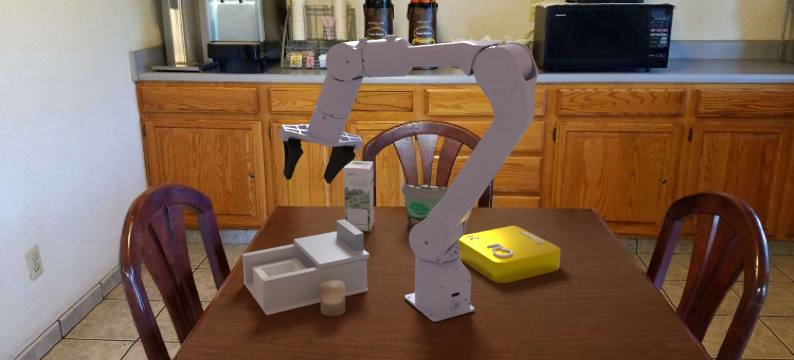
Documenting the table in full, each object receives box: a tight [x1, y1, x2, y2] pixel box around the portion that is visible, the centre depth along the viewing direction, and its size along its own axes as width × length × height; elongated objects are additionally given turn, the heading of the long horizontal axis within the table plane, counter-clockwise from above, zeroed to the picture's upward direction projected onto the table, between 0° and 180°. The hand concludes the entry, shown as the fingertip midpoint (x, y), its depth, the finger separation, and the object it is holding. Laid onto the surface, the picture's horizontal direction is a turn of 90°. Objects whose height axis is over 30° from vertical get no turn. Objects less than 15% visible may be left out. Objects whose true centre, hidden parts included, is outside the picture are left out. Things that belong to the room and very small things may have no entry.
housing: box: [241, 243, 369, 316], centre depth 110 cm, size 13×18×6 cm
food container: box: [400, 179, 450, 230], centre depth 136 cm, size 12×6×10 cm, turn 73°
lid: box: [293, 218, 370, 269], centre depth 111 cm, size 12×9×4 cm
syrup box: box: [343, 160, 375, 233], centre depth 137 cm, size 6×6×14 cm
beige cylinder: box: [319, 280, 346, 317], centre depth 102 cm, size 4×4×4 cm
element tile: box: [458, 225, 562, 284], centre depth 121 cm, size 15×15×5 cm
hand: (307, 178), depth 110 cm, fingers open, 7 cm apart
